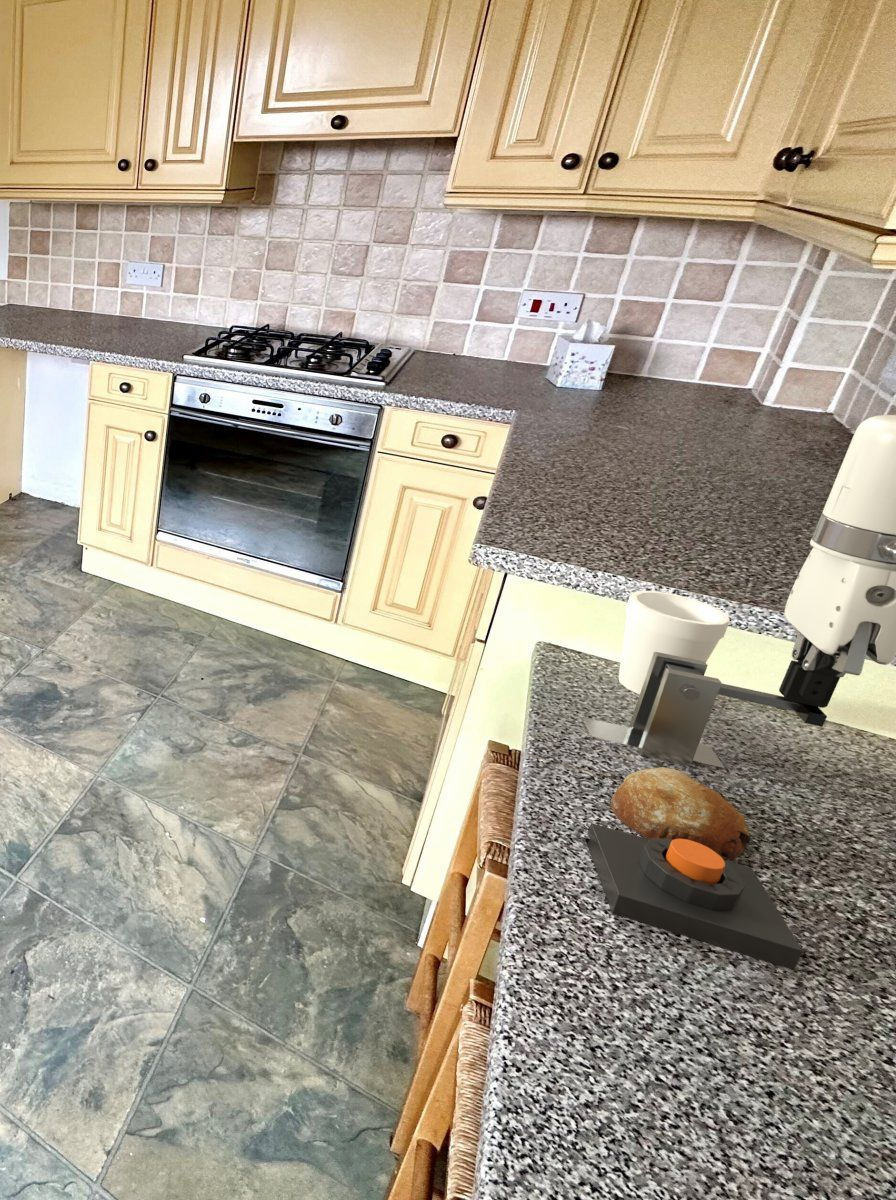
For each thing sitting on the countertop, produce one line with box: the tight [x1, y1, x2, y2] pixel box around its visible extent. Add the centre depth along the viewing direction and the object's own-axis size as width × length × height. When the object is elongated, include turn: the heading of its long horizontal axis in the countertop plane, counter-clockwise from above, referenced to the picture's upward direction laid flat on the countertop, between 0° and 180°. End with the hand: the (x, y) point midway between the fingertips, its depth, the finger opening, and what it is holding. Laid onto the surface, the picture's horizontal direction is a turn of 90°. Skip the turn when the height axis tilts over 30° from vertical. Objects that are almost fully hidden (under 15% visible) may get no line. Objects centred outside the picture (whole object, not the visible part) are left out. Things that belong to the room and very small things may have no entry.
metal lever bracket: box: [580, 652, 726, 769], centre depth 88 cm, size 12×9×13 cm
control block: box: [584, 822, 804, 971], centre depth 71 cm, size 12×10×4 cm
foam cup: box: [618, 590, 731, 695], centre depth 101 cm, size 10×9×13 cm
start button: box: [665, 839, 725, 884], centre depth 70 cm, size 4×4×2 cm
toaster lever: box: [660, 664, 828, 728], centre depth 84 cm, size 12×5×2 cm, turn 62°
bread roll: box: [610, 766, 752, 860], centre depth 79 cm, size 10×10×8 cm
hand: (801, 700), depth 82 cm, fingers closed
